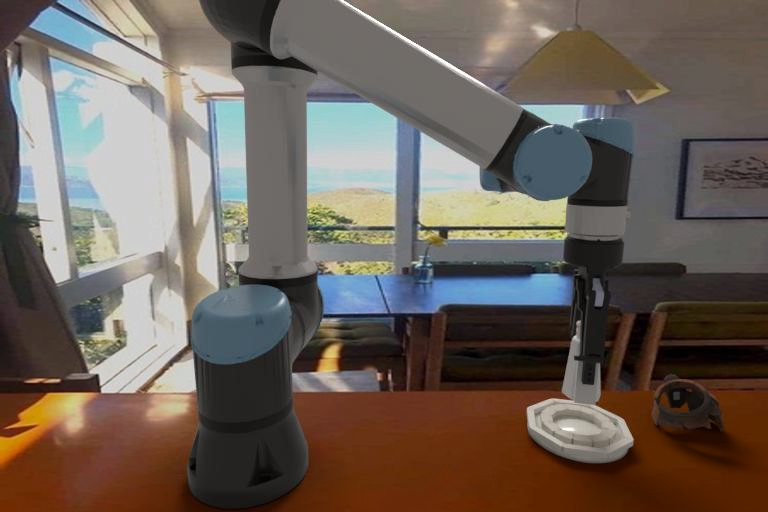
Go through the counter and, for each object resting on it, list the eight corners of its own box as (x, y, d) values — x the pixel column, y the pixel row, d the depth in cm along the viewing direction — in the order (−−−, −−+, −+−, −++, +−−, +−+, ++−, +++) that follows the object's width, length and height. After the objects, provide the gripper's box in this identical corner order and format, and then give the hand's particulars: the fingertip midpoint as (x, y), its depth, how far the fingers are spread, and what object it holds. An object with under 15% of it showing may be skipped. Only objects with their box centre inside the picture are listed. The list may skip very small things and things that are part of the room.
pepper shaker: (606, 404, 66) (613, 330, 64) (565, 401, 67) (571, 327, 65) (595, 387, 71) (601, 317, 69) (557, 384, 72) (563, 315, 70)
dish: (530, 454, 65) (531, 441, 65) (524, 405, 78) (525, 394, 78) (641, 470, 62) (642, 456, 61) (615, 415, 75) (617, 404, 75)
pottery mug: (743, 446, 68) (733, 407, 65) (676, 465, 70) (663, 429, 67) (696, 389, 79) (685, 353, 76) (639, 407, 81) (627, 373, 78)
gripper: (644, 248, 55) (624, 429, 59) (608, 227, 72) (595, 369, 77) (575, 245, 56) (561, 422, 61) (557, 226, 74) (547, 364, 78)
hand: (580, 392), depth 69 cm, fingers closed on pepper shaker, 5 cm apart
